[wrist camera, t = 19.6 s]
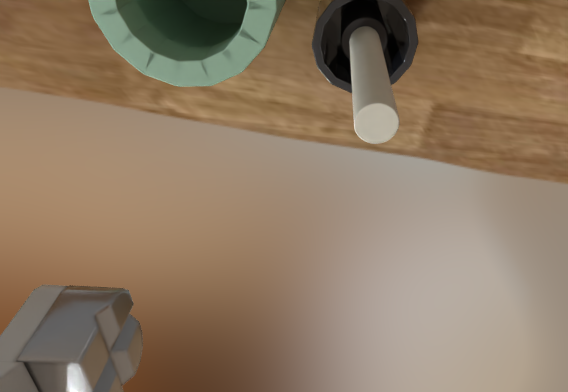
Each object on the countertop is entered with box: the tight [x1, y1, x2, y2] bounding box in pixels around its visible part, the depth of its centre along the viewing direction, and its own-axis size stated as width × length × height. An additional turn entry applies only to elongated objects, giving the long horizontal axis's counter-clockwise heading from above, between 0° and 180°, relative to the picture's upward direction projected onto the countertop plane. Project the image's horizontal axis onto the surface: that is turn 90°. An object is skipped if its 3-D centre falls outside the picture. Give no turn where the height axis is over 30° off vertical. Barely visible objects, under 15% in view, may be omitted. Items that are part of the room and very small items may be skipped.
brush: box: [341, 0, 399, 144], centre depth 27 cm, size 3×3×17 cm
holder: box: [312, 0, 418, 93], centre depth 32 cm, size 6×6×7 cm
